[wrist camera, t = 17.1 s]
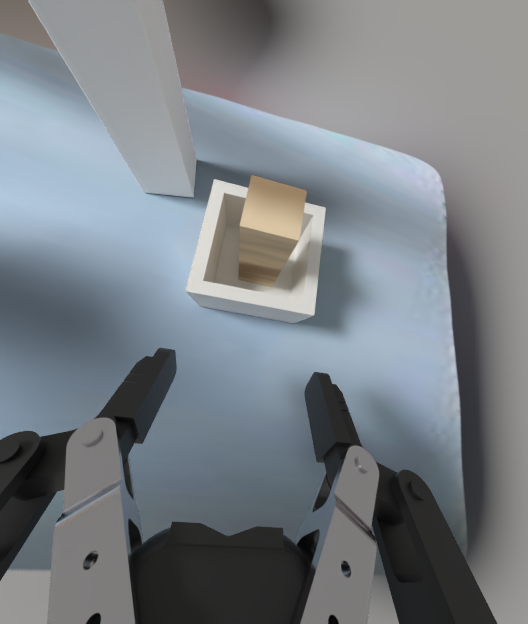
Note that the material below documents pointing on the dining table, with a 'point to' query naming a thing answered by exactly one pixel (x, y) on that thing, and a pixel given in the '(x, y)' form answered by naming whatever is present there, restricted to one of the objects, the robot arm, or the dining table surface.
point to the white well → (225, 263)
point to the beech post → (269, 229)
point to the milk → (129, 83)
